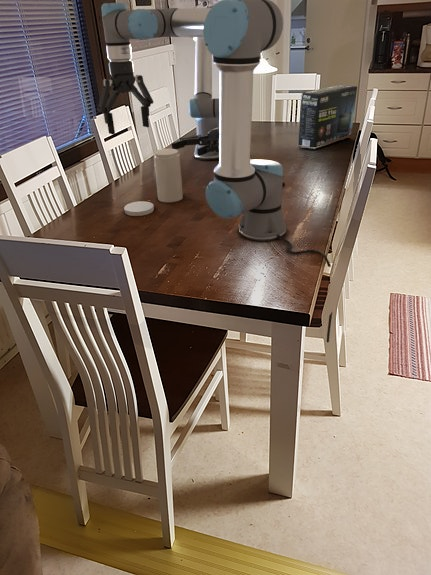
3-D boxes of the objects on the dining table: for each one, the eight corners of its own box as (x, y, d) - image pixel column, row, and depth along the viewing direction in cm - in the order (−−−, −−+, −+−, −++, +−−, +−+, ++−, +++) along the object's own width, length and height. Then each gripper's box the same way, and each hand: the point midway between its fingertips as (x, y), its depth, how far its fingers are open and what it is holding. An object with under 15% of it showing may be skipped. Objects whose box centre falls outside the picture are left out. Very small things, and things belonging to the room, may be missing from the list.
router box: (314, 151, 231) (318, 94, 217) (296, 148, 237) (299, 92, 224) (352, 138, 251) (358, 85, 238) (335, 135, 258) (340, 83, 245)
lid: (118, 211, 170) (118, 207, 170) (142, 203, 177) (141, 199, 176) (136, 218, 164) (135, 214, 163) (159, 209, 170) (159, 205, 169)
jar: (186, 194, 184) (183, 148, 174) (178, 203, 175) (174, 155, 166) (163, 192, 186) (158, 147, 177) (154, 201, 178) (148, 154, 168)
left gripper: (243, 150, 187) (210, 164, 174) (197, 141, 201) (163, 154, 187) (243, 131, 183) (209, 144, 170) (196, 124, 197) (161, 135, 183)
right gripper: (90, 64, 135) (102, 138, 146) (159, 57, 149) (165, 125, 160) (78, 63, 140) (91, 135, 151) (146, 56, 154) (153, 122, 165)
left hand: (185, 149), depth 178 cm, fingers open, 13 cm apart
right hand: (129, 130), depth 155 cm, fingers open, 13 cm apart
